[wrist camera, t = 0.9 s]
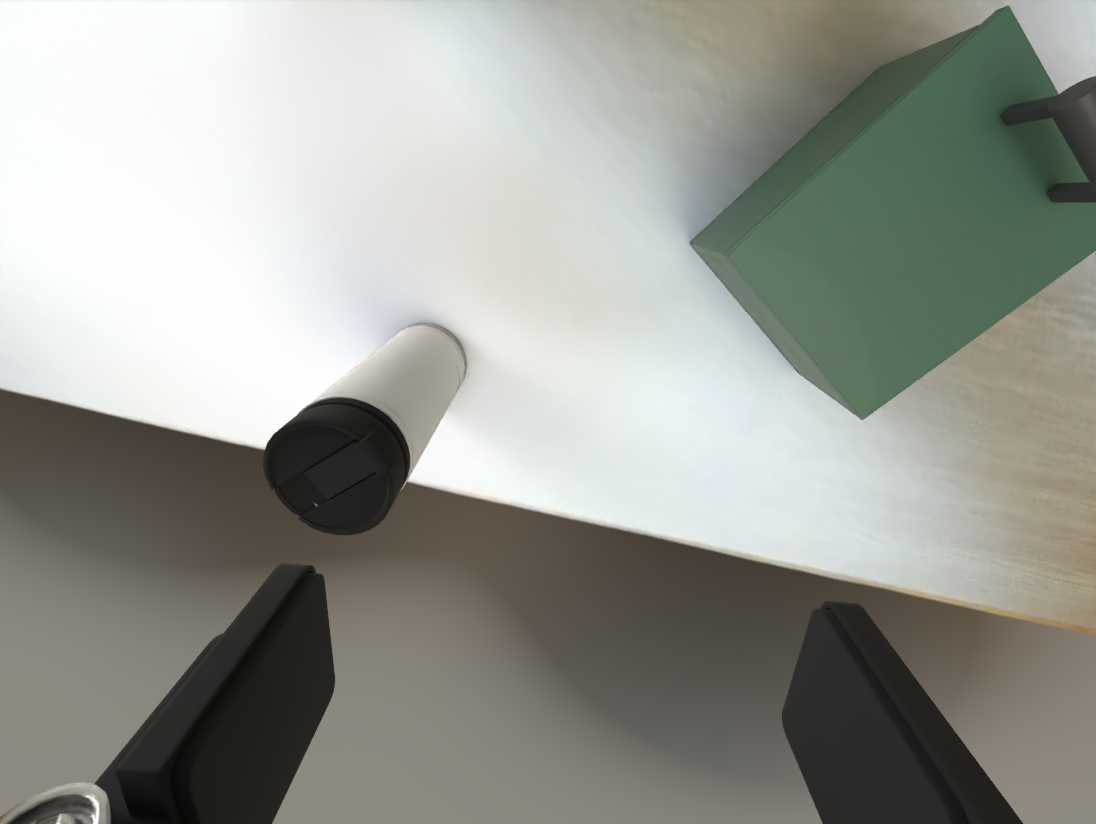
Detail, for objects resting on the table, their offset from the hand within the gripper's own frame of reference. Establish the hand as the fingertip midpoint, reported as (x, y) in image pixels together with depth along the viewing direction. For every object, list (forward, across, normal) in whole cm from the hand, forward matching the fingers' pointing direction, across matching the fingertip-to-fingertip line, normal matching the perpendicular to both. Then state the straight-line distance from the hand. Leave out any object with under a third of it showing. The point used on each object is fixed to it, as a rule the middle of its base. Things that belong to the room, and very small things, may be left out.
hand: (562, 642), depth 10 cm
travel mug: (+33, +10, +4) cm, 35 cm away
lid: (+24, -19, -7) cm, 31 cm away
